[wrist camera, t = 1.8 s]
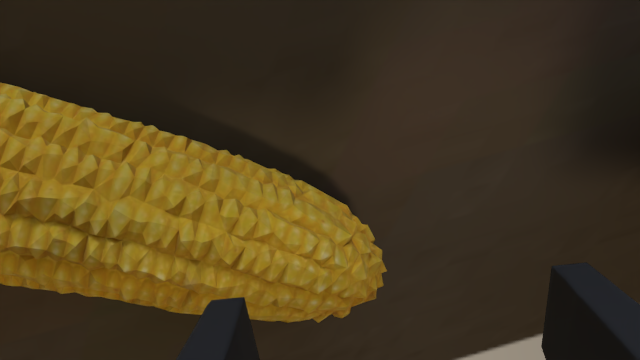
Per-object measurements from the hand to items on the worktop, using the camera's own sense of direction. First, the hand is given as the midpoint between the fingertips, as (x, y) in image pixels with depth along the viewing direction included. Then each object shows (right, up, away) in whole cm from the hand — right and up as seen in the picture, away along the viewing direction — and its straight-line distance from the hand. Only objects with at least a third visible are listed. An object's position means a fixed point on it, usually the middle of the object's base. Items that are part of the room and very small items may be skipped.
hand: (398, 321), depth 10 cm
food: (-10, +4, +9) cm, 14 cm away
